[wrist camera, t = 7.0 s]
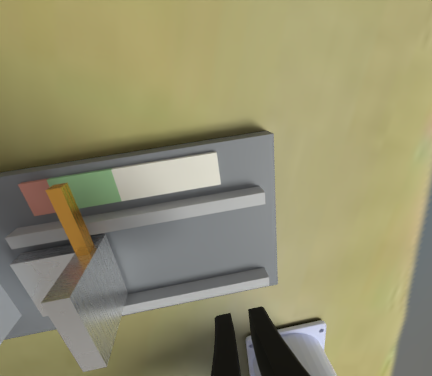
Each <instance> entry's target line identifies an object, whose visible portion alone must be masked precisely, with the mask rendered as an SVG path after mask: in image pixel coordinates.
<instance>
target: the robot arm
mask: <svg viewBox="0 0 432 376" xmlns="http://www.w3.org/2000/svg"><path fill="white" fill-rule="evenodd" d="M248 311H249V321H250V331H251V335H250V336H248V337H247V338H246V348H247V357H248V365H249V373H250V376H337V374H336V372H335V371H334V369H333V367H332V365H331V363H330V361H329V360H328V358H327V356H326V354H325V352H324V345H325V335H326V324H325V322H324V321H322V320H319V321H315V322H310V323H306V324H301V325H296V326H292V327H287V328H283V329H278V330H277V329H276V328H275V326H274V324H273V323H272V321H271V319H270V318H269V316H268V314H267V312H266V311H265V309H264V308H263V307H257V308H252V309H248ZM211 376H241V373H240V366H239V359H238V352H237V346H236V339H235V332H234V327H233V323H232V318H231V314H230V313H228V314H224V315H219V316H216V317H215V345H214V356H213V365H212V373H211Z"/></svg>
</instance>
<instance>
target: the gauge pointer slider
mask: <svg viewBox="0 0 432 376" xmlns="http://www.w3.org/2000/svg"><path fill="white" fill-rule="evenodd" d="M45 191H46V193H47V195H48V197H49V199H50V201H51V203H52V205H53V207H54V209H55V212H56V214H57V216H58V218H59V220H60V222H61V224H62V226H63V228H64V230H65V233H66V235H67V237H68V239H69V241H70V243H71V245H66V246H60V247H54V248H49V249H43V250H38V251H32V252H27V253H21V254H20V255H19V256H18V257H17V258H16V259H15V260H14V261H13V262H12V263H11V264H10V266H11V268H12V269H13V271H14V272H15V274H16V276H17V277H18V279H19V280H20V282H21V283H22V285H23V286H24V288H25V290H26V291H27V293H28V294H29V296H30V297H31V299H32V301H33V302H34V304H35V305H36V307H37V308H38V310H39V311H40V313H41V315H42V316H43V317H45V316H49V318H50V319H51V321H52V323H53V324H54V326H55V327H56V329H57V331H58V332H59V334H60V335H61V337H62V339H63V340H64V342H65V343H66V345H67V347H68V348H69V350H70V351H71V353H72V355H73V356H74V358H75V359H76V361H77V363H78V364H79V366H80V367H81V369H82V371H83V372H85V371H90V370H94V369H99V368H104V367H107V365H108V361H109V358H110V354H111V351H112V347H113V344H114V340H115V337H116V333H117V330H118V326H119V323H120V319H121V316H122V312H123V309H124V305H125V302H126V298H127V295H128V290H127V288H126V285H125V282H124V280H123V277H122V275H121V272H120V270H119V267H118V265H117V262H116V260H115V257H114V254H113V252H112V249H111V247H110V244H109V242H108V239H107V237H106V234H103V235H98V236H92V237H91V236H90V234H89V232H88V229H87V227H86V225H85V222H84V220H83V218H82V215H81V213H80V211H79V208H78V206H77V204H76V201H75V199H74V197H73V194H72V192H71V190H70V187H69V185H68V183H62V184H56V185H52V186H51V187H50V188H48V189H47V190H45Z"/></svg>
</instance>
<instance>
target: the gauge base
mask: <svg viewBox="0 0 432 376" xmlns="http://www.w3.org/2000/svg"><path fill="white" fill-rule="evenodd" d="M62 183H68V185H69V187H70V190H71V192H72V194H73V197H74V199H75V201H76V204H77V206H78V208H79V211H80V213H81V215H82V218H83V220H84V222H85V225H86V227H87V229H88V232H89V234H90V236H91V237H92V236H98V235H103V234H106V237H107V239H108V242H109V244H110V247H111V249H112V252H113V254H114V257H115V260H116V262H117V265H118V267H119V270H120V272H121V275H122V277H123V280H124V282H125V285H126V288H127V290H128V295H127V298H126V302H125V305H124V309H123V312H122V316H124V315H128V314H133V313H138V312H143V311H148V310H153V309H158V308H163V307H168V306H173V305H178V304H183V303H188V302H192V301H197V300H202V299H207V298H212V297H217V296H222V295H227V294H232V293H237V292H242V291H247V290H252V289H256V288H261V287H266V286H271V285H276V284H278V277H277V242H276V206H275V170H274V135H273V133H271V132H269V131H261V132H255V133H249V134H242V135H236V136H230V137H223V138H217V139H210V140H204V141H198V142H191V143H185V144H179V145H172V146H166V147H160V148H153V149H147V150H140V151H134V152H128V153H121V154H115V155H109V156H102V157H96V158H90V159H83V160H77V161H70V162H64V163H58V164H51V165H45V166H39V167H32V168H26V169H20V170H13V171H7V172H0V344H1V343H2V342H3V340H5V339H10V338H15V337H20V336H25V335H30V334H35V333H40V332H45V331H50V330H55V329H56V327H55V326H54V324H53V323H52V321H51V319H50V318H49V316H45V317H43V316H42V315H41V313H40V311H39V310H38V308H37V307H36V305H35V304H34V302H33V301H32V299H31V297H30V296H29V294H28V293H27V291H26V290H25V288H24V286H23V285H22V283H21V282H20V280H19V279H18V277H17V276H16V274H15V272H14V271H13V269H12V268H11V266H10V264H11V263H12V262H13V261H14V260H15V259H16V258H17V257H18V256H19V255H20V254H21V253H27V252H32V251H38V250H43V249H49V248H54V247H60V246H66V245H71V243H70V241H69V239H68V237H67V235H66V233H65V230H64V228H63V226H62V224H61V222H60V220H59V218H58V216H57V214H56V212H55V209H54V207H53V205H52V203H51V201H50V199H49V197H48V195H47V193H46V191H45V190H47V189H48V188H50V187H51V186H52V185H56V184H62Z"/></svg>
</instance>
